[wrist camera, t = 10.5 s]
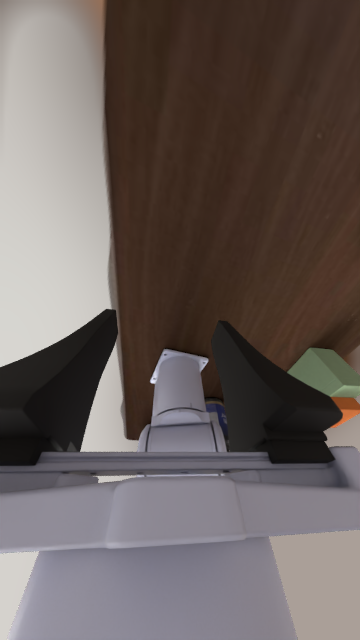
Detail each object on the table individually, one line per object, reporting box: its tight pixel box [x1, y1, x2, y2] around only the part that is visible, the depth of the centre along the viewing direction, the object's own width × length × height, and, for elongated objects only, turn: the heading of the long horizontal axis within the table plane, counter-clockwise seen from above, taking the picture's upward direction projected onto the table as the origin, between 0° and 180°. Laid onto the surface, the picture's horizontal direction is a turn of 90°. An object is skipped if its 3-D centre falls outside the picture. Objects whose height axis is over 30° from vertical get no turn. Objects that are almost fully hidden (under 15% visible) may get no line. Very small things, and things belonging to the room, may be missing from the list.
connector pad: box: [330, 397, 360, 428], centre depth 26 cm, size 6×4×3 cm, turn 172°
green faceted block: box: [287, 348, 360, 398], centre depth 29 cm, size 12×4×7 cm, turn 171°
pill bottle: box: [204, 398, 230, 452], centre depth 34 cm, size 6×6×11 cm
